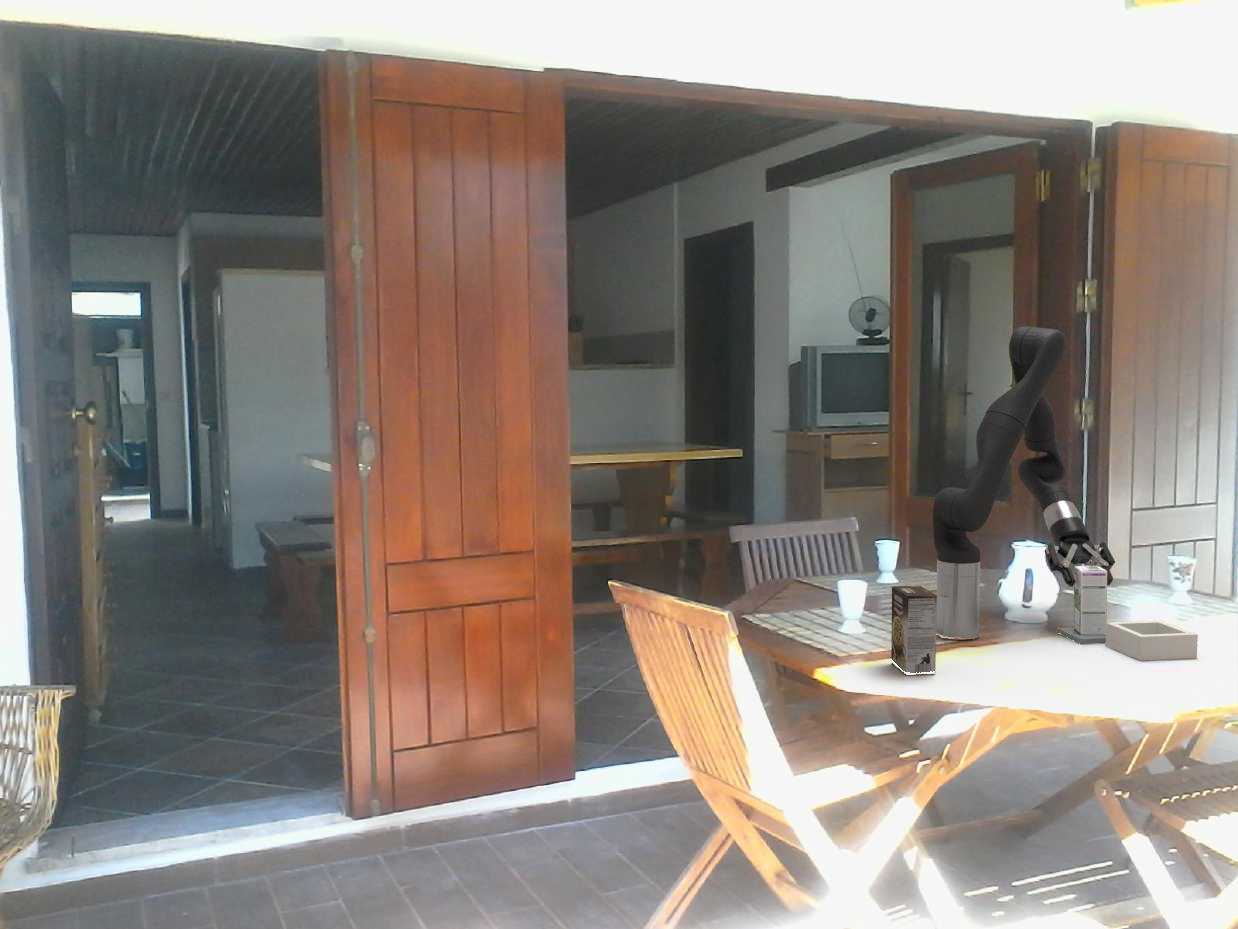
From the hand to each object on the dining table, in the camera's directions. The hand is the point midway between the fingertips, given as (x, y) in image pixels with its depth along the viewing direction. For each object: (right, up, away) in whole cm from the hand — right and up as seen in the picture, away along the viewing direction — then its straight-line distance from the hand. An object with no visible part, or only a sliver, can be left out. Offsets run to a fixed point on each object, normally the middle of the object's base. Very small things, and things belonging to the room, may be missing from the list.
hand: (1091, 584), depth 239 cm
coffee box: (-45, -15, -22) cm, 53 cm away
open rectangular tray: (+8, -13, -11) cm, 19 cm away
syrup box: (0, -11, +1) cm, 11 cm away
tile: (0, -12, +1) cm, 12 cm away
